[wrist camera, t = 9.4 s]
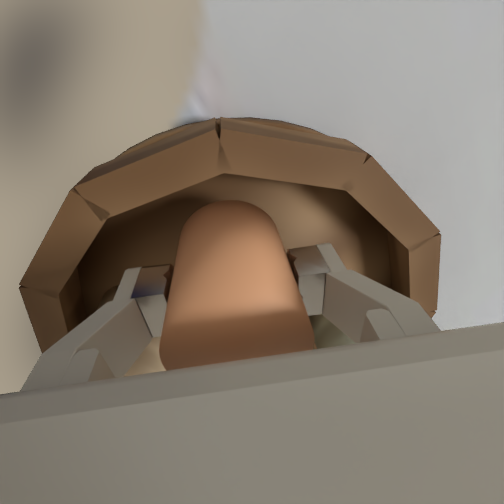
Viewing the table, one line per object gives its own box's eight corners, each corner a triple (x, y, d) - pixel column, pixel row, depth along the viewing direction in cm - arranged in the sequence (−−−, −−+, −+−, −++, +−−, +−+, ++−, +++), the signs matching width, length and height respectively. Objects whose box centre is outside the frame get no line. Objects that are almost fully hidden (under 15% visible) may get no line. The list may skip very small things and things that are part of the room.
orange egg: (278, 193, 10) (319, 284, 6) (280, 277, 13) (311, 383, 9) (167, 206, 10) (137, 308, 6) (190, 289, 13) (179, 402, 9)
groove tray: (466, 267, 18) (550, 339, 13) (257, 411, 26) (266, 487, 21) (199, -22, 9) (184, -92, 5) (3, 328, 17) (-75, 429, 12)
